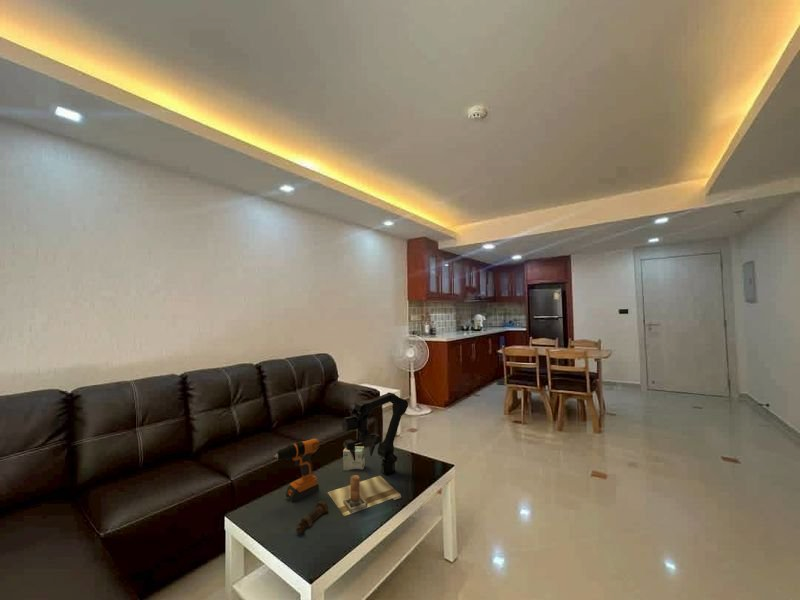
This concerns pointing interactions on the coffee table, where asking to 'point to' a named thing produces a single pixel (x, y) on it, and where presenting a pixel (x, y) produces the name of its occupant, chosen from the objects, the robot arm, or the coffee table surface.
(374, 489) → the subfloor panel
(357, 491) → the brown piece
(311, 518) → the bolt
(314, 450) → the power drill
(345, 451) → the light bulb box
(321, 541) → the coffee table surface
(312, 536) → the coffee table surface
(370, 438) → the robot arm
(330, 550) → the coffee table surface
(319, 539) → the coffee table surface
